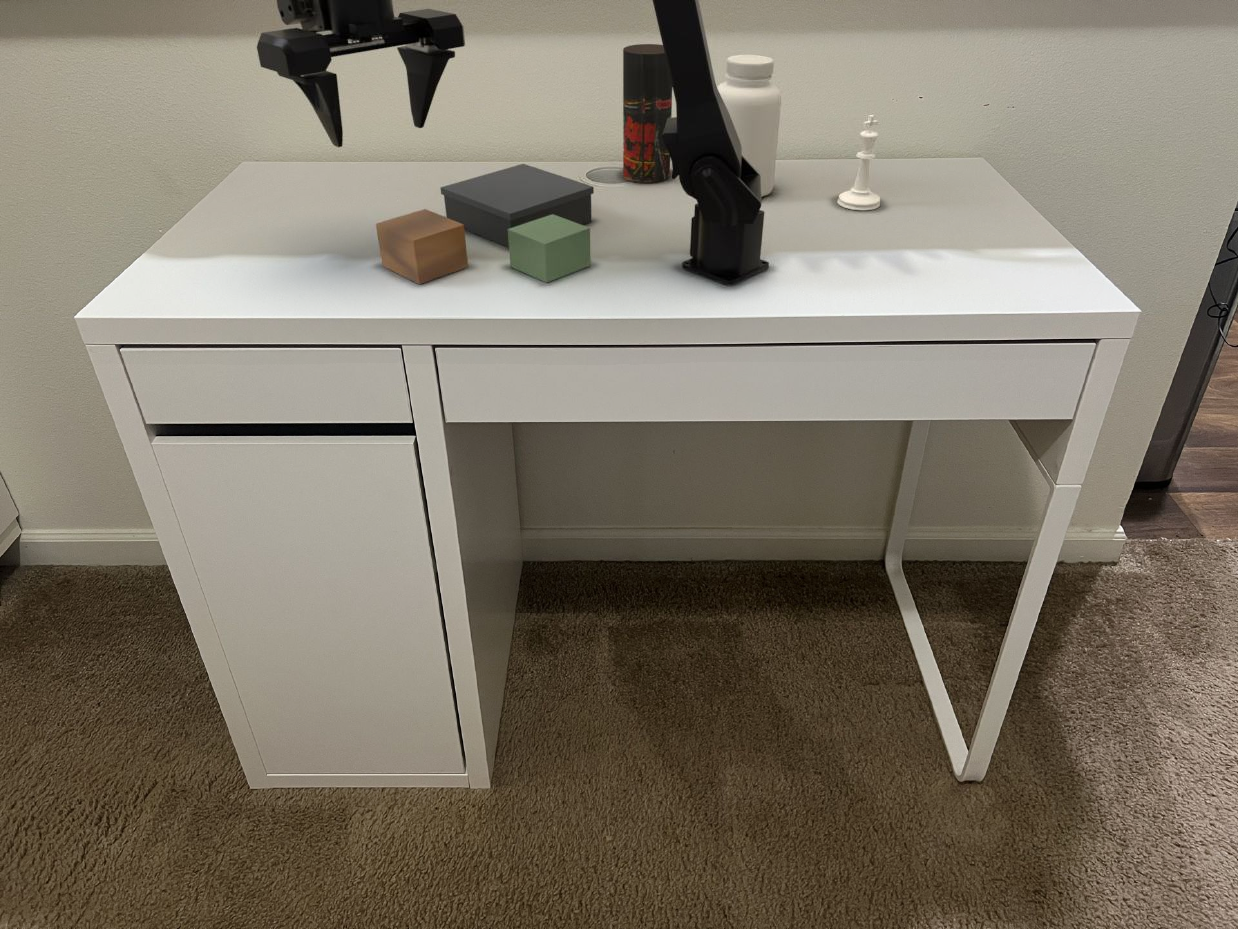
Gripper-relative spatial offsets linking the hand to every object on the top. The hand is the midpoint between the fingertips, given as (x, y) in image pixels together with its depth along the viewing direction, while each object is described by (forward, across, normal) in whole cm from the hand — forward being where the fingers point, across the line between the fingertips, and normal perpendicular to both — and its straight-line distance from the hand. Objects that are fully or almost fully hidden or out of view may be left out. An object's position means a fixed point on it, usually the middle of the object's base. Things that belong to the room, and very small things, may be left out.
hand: (379, 136), depth 89 cm
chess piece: (+12, -47, +26) cm, 55 cm away
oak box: (+12, 0, +5) cm, 13 cm away
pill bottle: (+12, -41, +13) cm, 45 cm away
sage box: (+12, -9, +14) cm, 21 cm away
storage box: (+12, -15, +2) cm, 19 cm away
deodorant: (+12, -37, +1) cm, 39 cm away
